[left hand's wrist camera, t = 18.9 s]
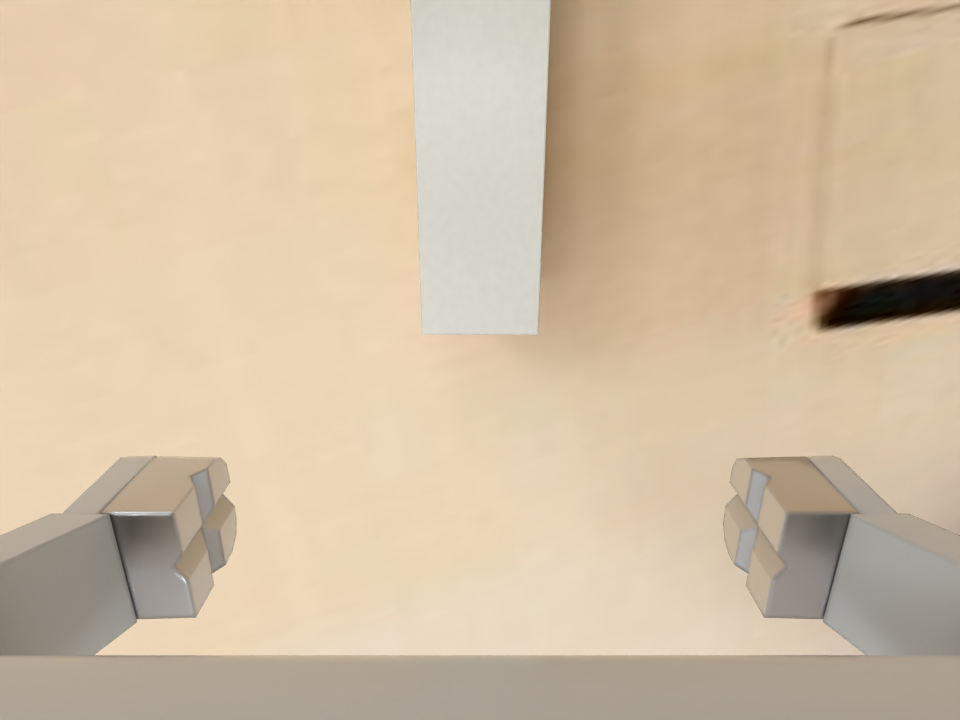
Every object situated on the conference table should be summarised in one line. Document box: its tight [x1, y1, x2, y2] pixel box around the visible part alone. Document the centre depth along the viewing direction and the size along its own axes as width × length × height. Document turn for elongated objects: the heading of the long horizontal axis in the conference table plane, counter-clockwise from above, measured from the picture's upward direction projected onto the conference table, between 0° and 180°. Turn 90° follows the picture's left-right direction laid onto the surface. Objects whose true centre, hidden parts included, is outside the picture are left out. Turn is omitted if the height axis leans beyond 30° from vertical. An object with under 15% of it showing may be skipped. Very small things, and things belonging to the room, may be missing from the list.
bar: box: [411, 0, 551, 335], centre depth 27 cm, size 24×5×8 cm, turn 0°
